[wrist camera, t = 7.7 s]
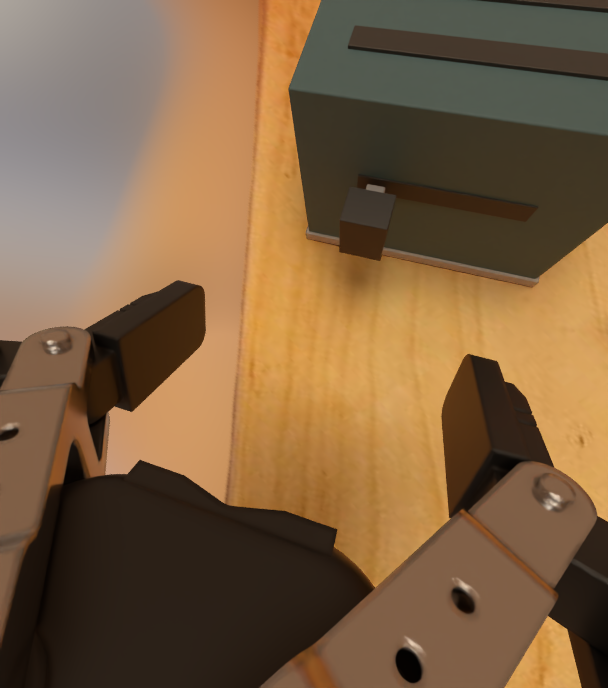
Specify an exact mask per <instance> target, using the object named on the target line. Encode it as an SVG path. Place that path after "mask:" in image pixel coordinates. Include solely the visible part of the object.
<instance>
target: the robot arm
mask: <svg viewBox="0 0 608 688" xmlns="http://www.w3.org/2000/svg"><path fill="white" fill-rule="evenodd" d="M205 331H206V327H205V294H204V289H203V288H202V287H201V286H199V285H195V284H191V283H187V282H183V281H179V280H178V281H175V282H174V283H172V284H170V285H169V286H167V287H165V288H163V289H162V290H160V291H158V292H155V293H152V294H148V295H144V296H142V297H140V298H138V299H137V300H135V301H133V302H131V303H130V305H126V306H124V307H123V308H121V309H120V311H116V312H114V313H112V314H111V315H109V316H107V317H105V318H104V319H102V320H100V321H98V322H97V323H95V324H93V325H92V326H90V327H88V328H86V329H85V330H83V329H81V328H76V327H55V328H49V329H45V330H42V331H39V332H37V333H34V334H32V335H30V336H29V337H28V338H26V339H25V340H24V341H23V342H18V341H2V340H0V688H504V687H505V686H506V684H507V682H508V681H509V679H510V677H511V676H512V674H513V672H514V671H515V669H516V667H517V666H518V664H519V662H520V661H521V659H522V657H523V656H524V654H525V652H526V651H527V649H528V648H529V646H530V644H531V643H532V641H533V639H534V638H535V636H536V634H537V633H538V631H539V629H540V628H541V626H542V624H543V623H544V621H545V619H546V618H547V616H549V617H550V618H552V619H553V620H555V621H556V622H558V623H559V624H561V625H562V626H564V627H565V628H567V630H568V634H569V638H570V642H571V646H572V650H573V654H574V658H575V662H576V666H577V670H578V674H579V678H580V682H581V686H582V688H608V522H607V521H605V520H604V519H602V518H600V517H598V516H597V512H596V508H595V506H594V503H593V502H592V500H591V498H590V497H589V496H588V494H587V493H586V492H585V491H584V490H583V489H582V487H581V486H580V485H578V484H577V483H576V482H575V481H574V480H573V479H571V478H570V477H569V476H567V475H566V474H564V473H563V472H561V471H559V470H557V469H555V468H554V465H553V463H552V461H551V458H550V456H549V453H548V451H547V448H546V446H545V443H544V441H543V438H542V436H541V433H540V431H539V428H537V427H536V425H537V424H536V421H535V419H534V416H533V415H531V414H532V411H531V409H530V406H529V404H528V401H527V399H526V397H525V396H524V395H523V394H522V393H521V392H520V391H519V390H518V389H517V388H516V387H515V385H514V384H512V383H508V382H505V381H504V378H503V375H502V372H501V370H500V367H499V364H498V362H497V361H494V360H490V359H486V358H482V357H478V356H474V355H470V354H467V355H466V356H465V357H464V359H463V361H462V363H461V365H460V367H459V369H458V371H457V374H456V376H455V378H454V380H453V382H452V384H451V387H450V389H449V391H448V393H447V395H446V398H445V400H444V404H443V408H442V430H443V443H444V456H445V469H446V482H447V495H448V508H449V518H451V519H450V520H449V521H448V522H447V523H446V524H445V525H443V526H442V527H441V528H440V529H439V530H438V531H437V532H436V533H435V534H434V535H433V536H432V537H430V538H429V539H428V540H427V541H426V542H425V543H424V544H423V545H422V546H421V547H420V548H419V549H417V550H416V551H415V552H414V553H413V554H412V555H411V556H410V557H409V558H408V559H407V560H405V561H404V562H403V563H402V564H401V565H400V566H399V567H398V568H397V569H396V570H395V571H394V572H392V573H391V574H390V575H389V576H388V577H387V578H386V579H385V580H384V581H383V582H382V583H381V584H379V585H378V586H377V587H376V588H375V587H374V586H373V585H372V583H371V582H370V581H369V579H368V578H367V577H366V575H365V574H364V573H363V572H362V571H361V570H360V569H359V568H358V567H357V566H356V564H355V563H353V562H352V561H351V560H350V559H349V558H348V557H347V556H345V555H344V554H343V553H342V552H340V551H339V550H337V549H336V548H334V543H335V538H336V534H337V529H334V528H332V527H329V526H326V525H323V524H320V523H317V522H315V521H312V520H309V519H306V518H303V517H300V516H298V515H295V514H292V513H289V512H286V511H278V510H268V509H257V508H246V507H235V506H229V505H226V504H224V503H223V502H221V501H219V500H218V499H217V498H215V497H214V496H212V495H211V494H210V493H208V492H207V491H206V490H204V489H203V488H201V487H200V486H199V485H197V484H196V483H194V482H193V481H191V480H190V479H189V478H187V477H186V476H184V475H181V474H178V473H176V472H173V471H170V470H167V469H164V468H161V467H158V466H155V465H153V464H150V463H147V462H144V461H142V460H139V461H138V463H137V464H136V465H135V466H134V467H133V468H132V470H131V471H130V472H129V473H128V474H113V475H112V474H111V475H105V471H106V459H107V448H108V447H107V446H108V436H109V424H110V417H109V413H108V411H109V410H111V409H112V408H113V407H114V406H115V407H118V408H121V409H124V410H127V411H130V412H132V411H134V409H135V408H137V407H138V406H139V405H140V404H141V403H142V402H143V401H144V400H145V399H146V398H147V397H148V396H149V395H150V394H151V393H152V392H153V391H154V390H155V389H156V388H157V387H158V386H160V385H161V384H162V383H163V382H164V381H165V380H166V379H167V378H168V377H169V376H170V375H171V374H172V373H173V372H174V371H175V370H176V369H177V368H178V367H179V366H180V365H181V364H182V363H183V362H185V360H186V359H188V358H189V357H190V356H191V355H192V354H193V353H194V352H195V351H196V350H197V349H198V348H199V347H200V346H201V344H202V342H203V340H204V336H205Z"/></svg>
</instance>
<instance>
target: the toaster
mask: <svg viewBox="0 0 608 688" xmlns="http://www.w3.org/2000/svg"><path fill="white" fill-rule="evenodd" d="M289 96H290V103H291V110H292V116H293V123H294V130H295V137H296V144H297V151H298V158H299V165H300V172H301V179H302V186H303V192H304V199H305V206H306V213H307V220H308V227H307V230H306V238H307V239H311V240H316V241H321V242H325V243H330V244H335V245H339V231H340V217H341V213H342V210H343V207H344V203H345V200H346V197H347V194H348V190H349V187H355V188H361V189H366V187H367V184H370V185H376V186H381V187H385V193H387V194H393V195H396V196H397V197H396V201H395V205H394V209H393V213H392V217H391V221H390V225H389V229H388V233H387V237H386V241H385V244H384V248H383V252H382V255H386V256H390V257H395V258H400V259H404V260H409V261H414V262H418V263H423V264H428V265H432V266H437V267H442V268H446V269H451V270H456V271H460V272H465V273H469V274H474V275H479V276H483V277H488V278H493V279H497V280H502V281H507V282H511V283H516V284H521V285H525V286H530V287H533V286H535V285H536V284H537V283H538V282H539V277H540V275H542V274H543V273H544V272H545V271H547V270H548V269H549V268H551V267H552V266H553V265H554V264H556V263H557V262H558V261H559V260H561V259H562V258H563V257H565V256H566V255H567V254H568V253H570V252H571V251H572V250H574V249H575V248H576V247H577V246H579V245H580V244H581V243H582V242H584V241H585V240H586V239H588V238H589V237H590V236H591V235H593V234H594V233H595V232H597V231H598V230H599V229H600V228H602V227H603V226H604V225H606V224H607V223H608V0H321V3H320V6H319V8H318V11H317V14H316V16H315V19H314V22H313V24H312V27H311V30H310V32H309V35H308V38H307V40H306V43H305V46H304V48H303V51H302V54H301V56H300V59H299V62H298V64H297V67H296V70H295V73H294V75H293V78H292V81H291V83H290V86H289Z"/></svg>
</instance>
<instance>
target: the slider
mask: <svg viewBox="0 0 608 688" xmlns="http://www.w3.org/2000/svg"><path fill="white" fill-rule="evenodd" d="M396 197H397V196H396V195H393V194H387V193H385V187H381V186H376V185H370V184H367V187H366V189H361V188H355V187H349V190H348V194H347V197H346V200H345V203H344V207H343V210H342V213H341V217H340V231H339V252H342V253H346V254H351V255H355V256H360V257H365V258H369V259H374V260H378V261H380V259H381V255H382V252H383V248H384V244H385V241H386V237H387V233H388V229H389V225H390V221H391V217H392V213H393V209H394V205H395V201H396Z"/></svg>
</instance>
